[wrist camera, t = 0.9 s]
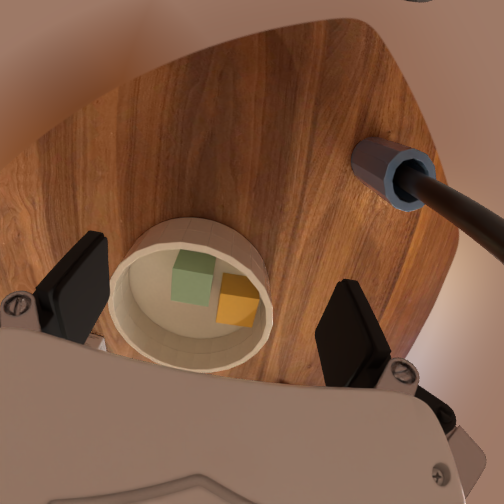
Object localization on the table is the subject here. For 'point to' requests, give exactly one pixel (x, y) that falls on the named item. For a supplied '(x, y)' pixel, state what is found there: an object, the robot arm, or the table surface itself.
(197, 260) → the sage cube
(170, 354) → the bowl
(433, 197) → the stirring stick
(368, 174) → the holder
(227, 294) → the mustard cube
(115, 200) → the table surface
